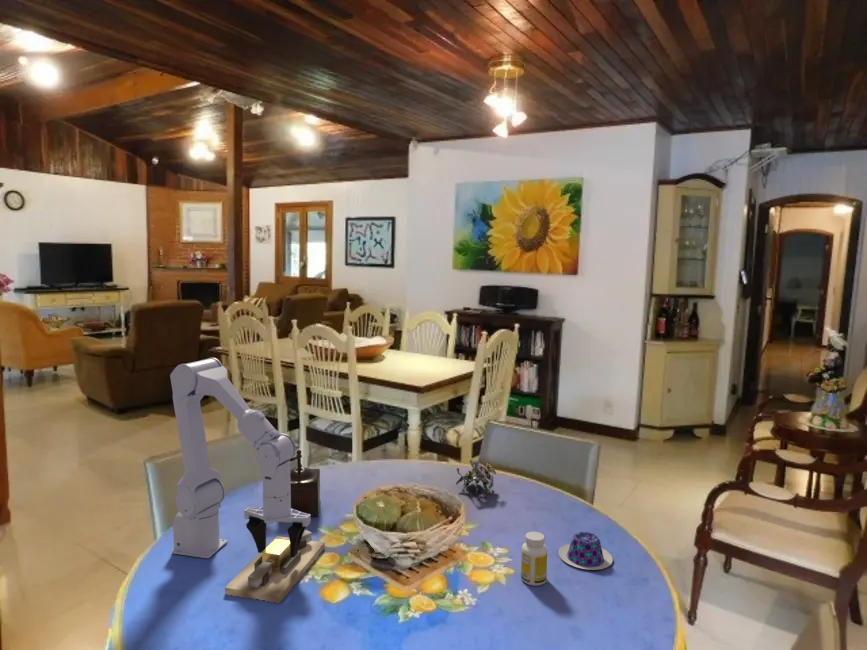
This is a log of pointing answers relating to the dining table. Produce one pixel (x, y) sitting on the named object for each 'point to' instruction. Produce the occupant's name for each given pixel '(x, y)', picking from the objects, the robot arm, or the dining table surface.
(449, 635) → the dining table surface
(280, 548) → the block
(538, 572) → the supplement bottle
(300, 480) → the brown manual coffee grinder
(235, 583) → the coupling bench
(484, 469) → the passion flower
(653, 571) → the dining table surface
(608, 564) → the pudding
